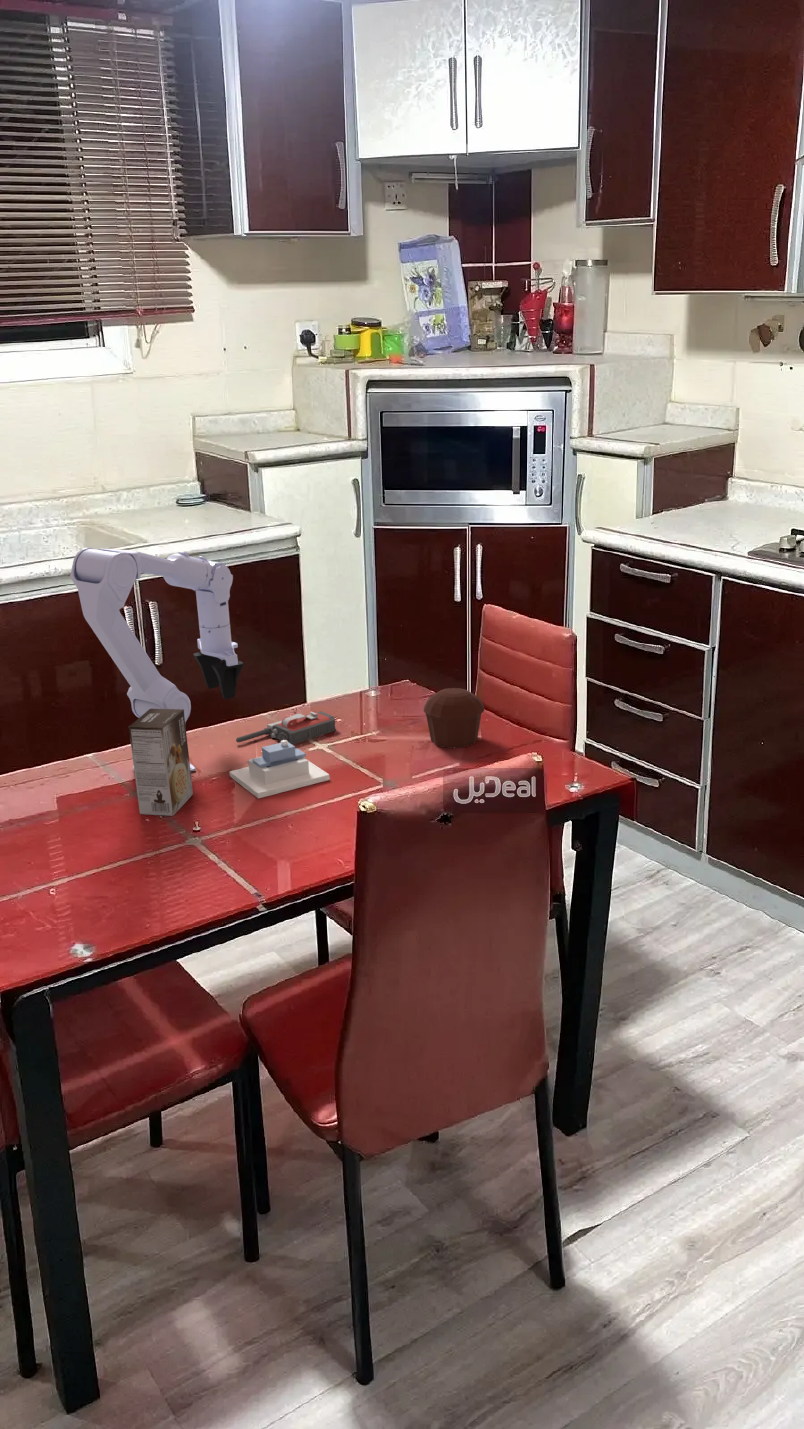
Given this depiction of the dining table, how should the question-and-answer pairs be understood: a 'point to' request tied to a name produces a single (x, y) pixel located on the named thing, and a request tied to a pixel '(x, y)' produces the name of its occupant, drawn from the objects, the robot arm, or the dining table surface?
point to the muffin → (453, 717)
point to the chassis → (278, 777)
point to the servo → (278, 754)
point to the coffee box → (161, 761)
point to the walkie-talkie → (297, 728)
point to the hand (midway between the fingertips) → (220, 692)
